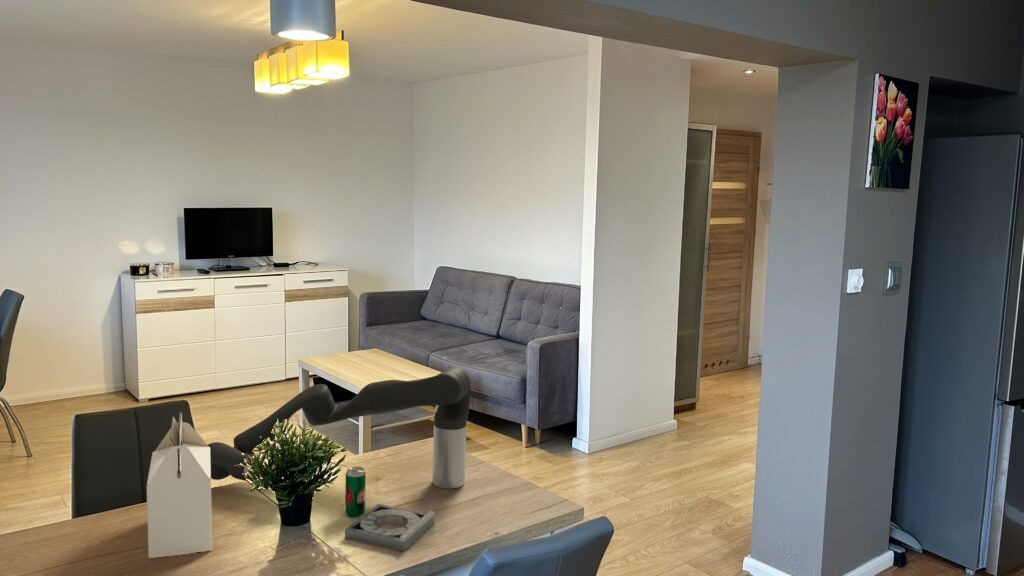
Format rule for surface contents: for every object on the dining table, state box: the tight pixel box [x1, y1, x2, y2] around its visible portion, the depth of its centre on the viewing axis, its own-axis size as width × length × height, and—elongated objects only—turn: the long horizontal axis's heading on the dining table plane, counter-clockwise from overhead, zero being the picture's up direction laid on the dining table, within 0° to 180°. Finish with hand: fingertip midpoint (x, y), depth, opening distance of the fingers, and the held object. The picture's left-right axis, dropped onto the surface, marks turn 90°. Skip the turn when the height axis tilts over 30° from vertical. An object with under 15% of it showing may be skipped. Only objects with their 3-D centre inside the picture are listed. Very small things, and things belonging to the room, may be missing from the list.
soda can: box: [344, 466, 367, 518], centre depth 201 cm, size 5×5×12 cm
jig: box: [344, 503, 435, 553], centre depth 193 cm, size 16×16×4 cm
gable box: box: [146, 412, 213, 558], centre depth 185 cm, size 22×13×28 cm, turn 21°
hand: (317, 482), depth 204 cm, fingers open, 8 cm apart
